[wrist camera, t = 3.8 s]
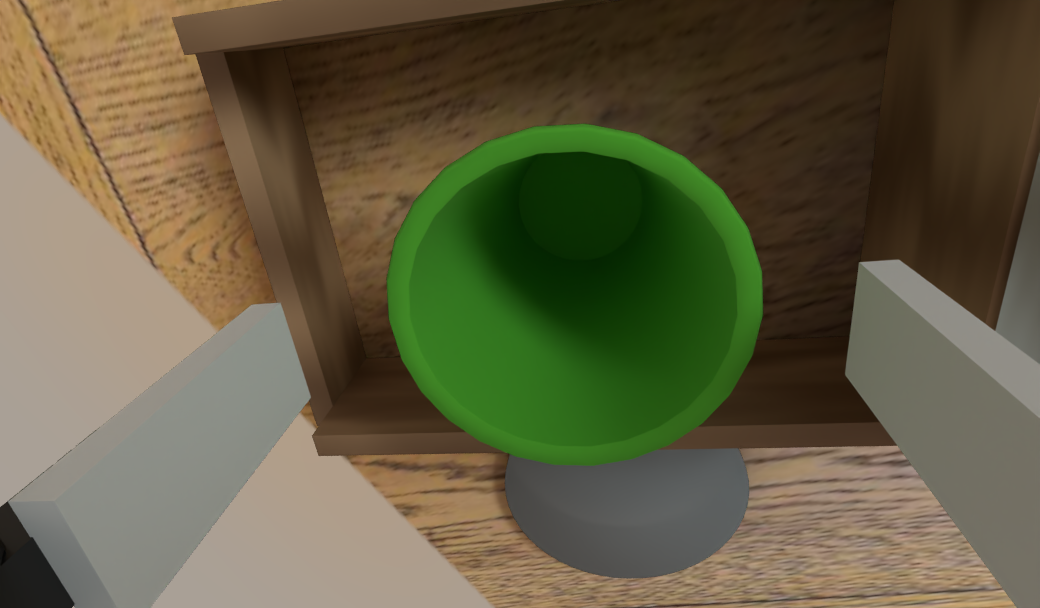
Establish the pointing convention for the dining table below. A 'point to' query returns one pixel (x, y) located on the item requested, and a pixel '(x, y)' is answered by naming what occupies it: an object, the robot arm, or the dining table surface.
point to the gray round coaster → (631, 509)
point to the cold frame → (775, 363)
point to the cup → (574, 294)
